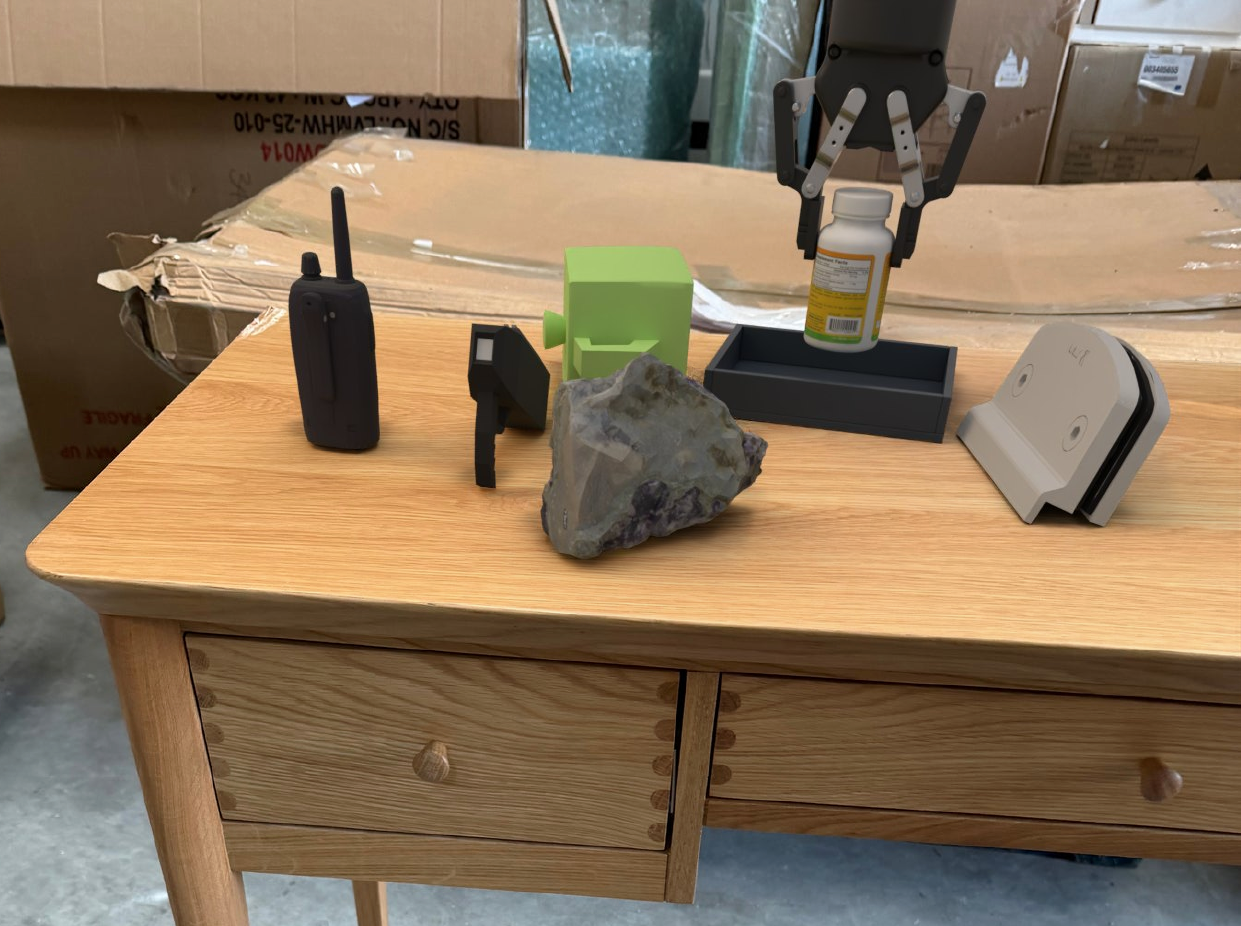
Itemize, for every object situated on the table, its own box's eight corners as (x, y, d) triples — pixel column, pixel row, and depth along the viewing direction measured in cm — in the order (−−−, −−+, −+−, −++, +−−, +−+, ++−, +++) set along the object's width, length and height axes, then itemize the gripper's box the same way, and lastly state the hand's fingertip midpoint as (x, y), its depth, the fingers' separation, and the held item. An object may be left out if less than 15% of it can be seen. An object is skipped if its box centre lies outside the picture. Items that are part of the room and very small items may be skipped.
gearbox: (540, 359, 94) (541, 226, 88) (661, 361, 95) (671, 230, 89) (544, 435, 81) (545, 284, 75) (686, 437, 81) (699, 288, 75)
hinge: (954, 430, 84) (1038, 287, 78) (1010, 454, 85) (1097, 315, 79) (1025, 523, 71) (1132, 360, 65) (1090, 550, 72) (1201, 392, 66)
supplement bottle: (844, 330, 89) (868, 182, 83) (892, 348, 85) (921, 195, 79) (787, 338, 87) (808, 187, 80) (834, 357, 83) (859, 201, 77)
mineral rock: (756, 504, 72) (779, 330, 66) (771, 580, 64) (798, 389, 58) (547, 495, 72) (550, 319, 66) (535, 569, 64) (537, 377, 58)
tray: (948, 388, 92) (958, 346, 90) (941, 443, 82) (951, 397, 80) (732, 364, 95) (736, 323, 93) (700, 414, 85) (704, 369, 83)
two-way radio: (391, 440, 79) (372, 184, 69) (365, 463, 76) (342, 197, 66) (315, 431, 80) (286, 177, 70) (286, 452, 77) (252, 189, 67)
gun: (543, 511, 84) (557, 363, 82) (496, 480, 69) (512, 296, 67) (504, 507, 85) (517, 360, 83) (449, 476, 69) (463, 293, 67)
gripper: (1022, -41, 73) (958, 260, 84) (793, -51, 76) (759, 242, 87) (1024, -39, 67) (954, 283, 78) (776, -50, 70) (742, 263, 81)
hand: (852, 260), depth 82 cm, fingers closed on supplement bottle, 5 cm apart
